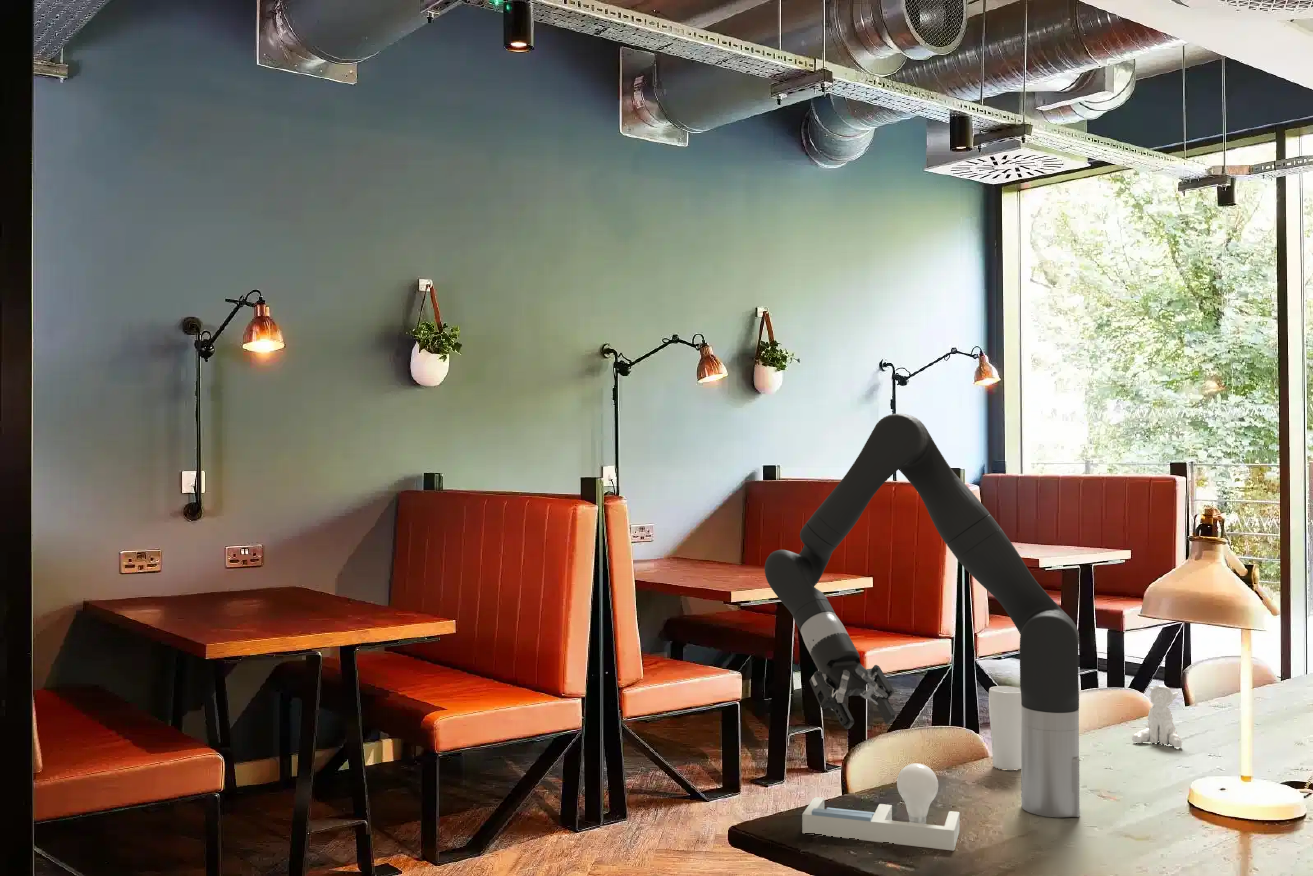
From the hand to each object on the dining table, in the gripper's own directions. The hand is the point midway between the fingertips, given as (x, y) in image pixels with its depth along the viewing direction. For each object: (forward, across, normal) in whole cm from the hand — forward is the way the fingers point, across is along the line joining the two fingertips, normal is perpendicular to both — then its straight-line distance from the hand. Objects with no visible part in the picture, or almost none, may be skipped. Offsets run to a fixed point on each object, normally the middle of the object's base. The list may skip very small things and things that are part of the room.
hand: (871, 723), depth 190 cm
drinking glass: (+3, +42, +18) cm, 45 cm away
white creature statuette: (+3, +85, +18) cm, 87 cm away
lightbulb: (+19, 0, +3) cm, 19 cm away
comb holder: (+15, -3, +6) cm, 17 cm away
